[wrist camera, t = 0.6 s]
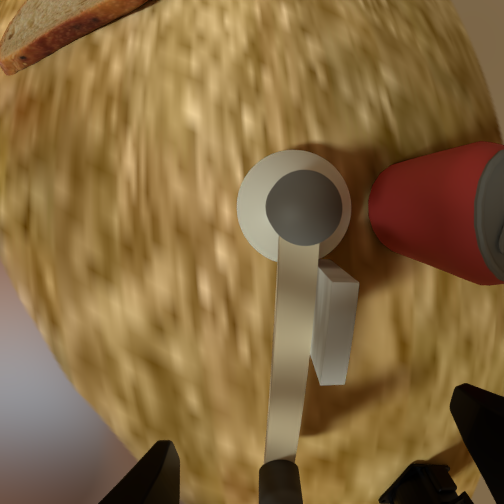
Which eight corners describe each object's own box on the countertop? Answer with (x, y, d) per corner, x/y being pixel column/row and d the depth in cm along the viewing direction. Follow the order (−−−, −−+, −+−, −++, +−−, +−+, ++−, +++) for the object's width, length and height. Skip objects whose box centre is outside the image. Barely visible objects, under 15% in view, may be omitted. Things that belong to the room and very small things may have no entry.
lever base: (319, 274, 22) (324, 281, 20) (223, 235, 22) (219, 239, 20) (357, 180, 21) (367, 178, 19) (262, 139, 21) (262, 132, 19)
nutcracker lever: (266, 175, 19) (272, 151, 10) (333, 179, 19) (388, 161, 10) (253, 464, 22) (250, 548, 13) (302, 464, 22) (314, 547, 13)
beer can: (346, 207, 21) (438, 213, 9) (403, 143, 20) (514, 103, 8) (405, 272, 22) (512, 328, 10) (456, 209, 21) (575, 219, 9)
